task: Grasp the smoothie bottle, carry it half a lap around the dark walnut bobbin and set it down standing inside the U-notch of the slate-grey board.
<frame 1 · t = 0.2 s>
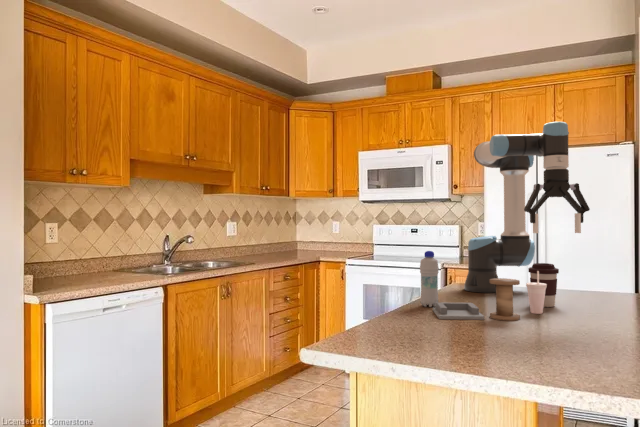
hand: (556, 233, 162), 27 cm above the counter, fingers open, 13 cm apart
smoothie: (536, 313, 164), on the counter
bottle: (429, 306, 177), on the counter
notch board: (457, 314, 161), on the counter
bobbin: (504, 317, 156), on the counter
coffee cup: (543, 306, 176), on the counter
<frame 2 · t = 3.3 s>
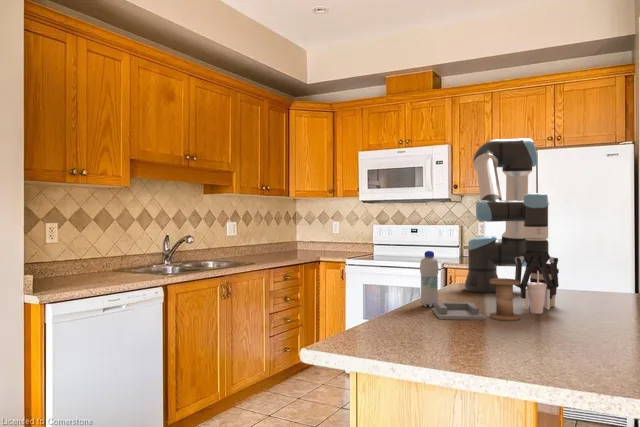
hand: (536, 308, 164), 1 cm above the counter, fingers closed on smoothie, 6 cm apart
smoothie: (536, 313, 164), on the counter, touching gripper
everything else where it was.
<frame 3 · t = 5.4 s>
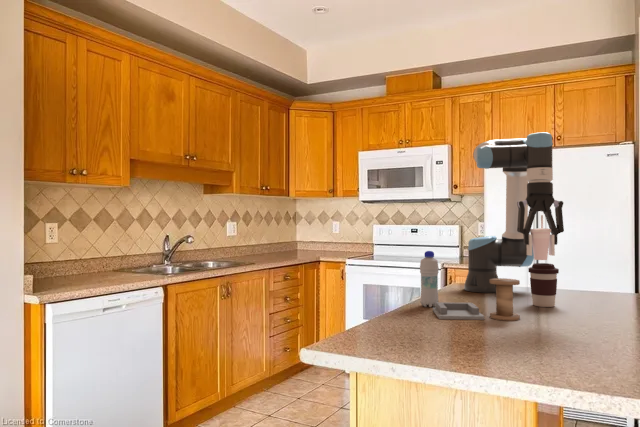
hand: (540, 255, 155), 20 cm above the counter, fingers closed on smoothie, 6 cm apart
smoothie: (540, 260, 154), point 18 cm above the counter, touching gripper
everything else where it was.
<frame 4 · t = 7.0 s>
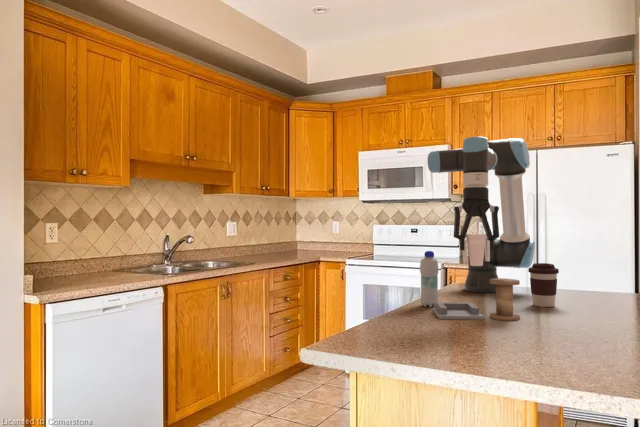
hand: (476, 260, 153), 19 cm above the counter, fingers closed on smoothie, 6 cm apart
smoothie: (476, 265, 153), point 17 cm above the counter, touching gripper
everything else where it was.
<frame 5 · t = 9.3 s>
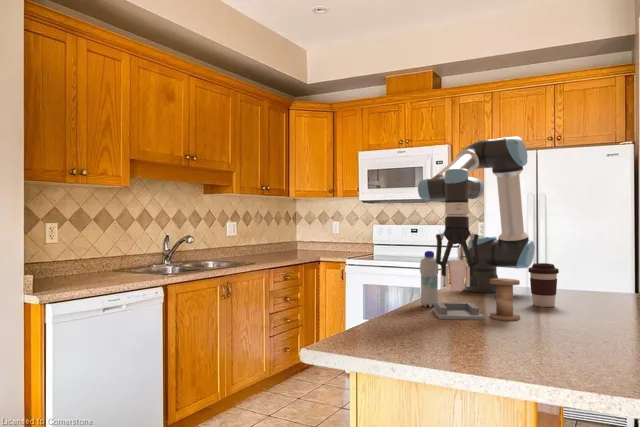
hand: (457, 285, 161), 10 cm above the counter, fingers closed on smoothie, 6 cm apart
smoothie: (457, 290, 161), point 8 cm above the counter, touching gripper
everything else where it was.
when the fingers open (5 cm above the counter, at t = 11.0 s): smoothie drops 2 cm, resting on notch board.
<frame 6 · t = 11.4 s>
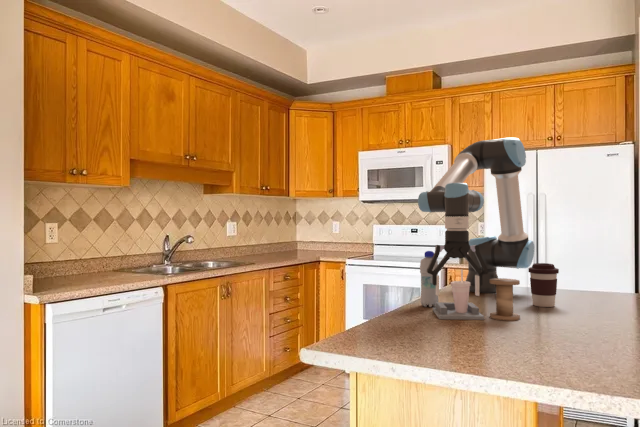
hand: (457, 295, 161), 6 cm above the counter, fingers open, 12 cm apart
smoothie: (461, 312, 161), point 1 cm above the counter, touching notch board
everything else where it was.
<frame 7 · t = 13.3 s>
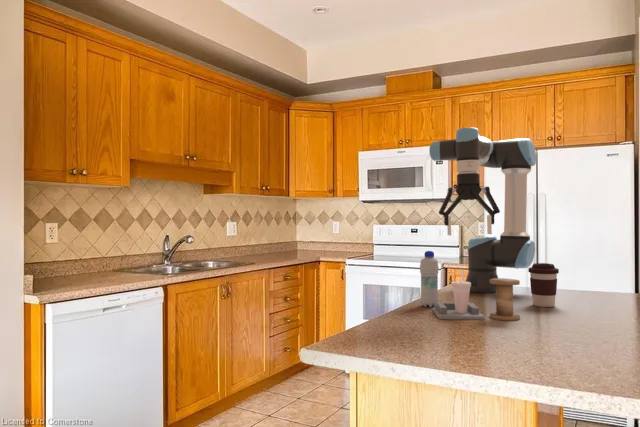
hand: (469, 234, 169), 26 cm above the counter, fingers open, 13 cm apart
nothing on the counter moved.
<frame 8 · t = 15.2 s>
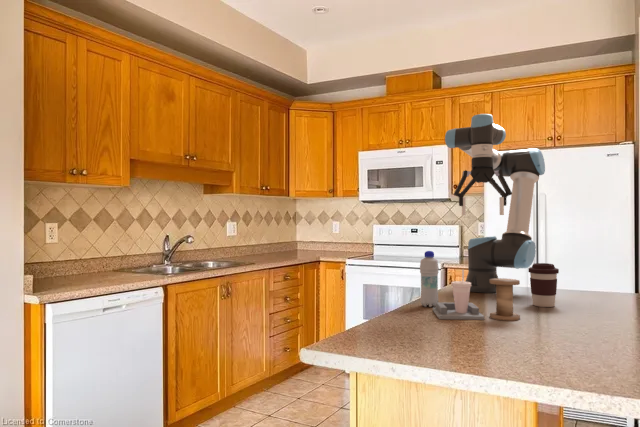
hand: (482, 215, 179), 33 cm above the counter, fingers open, 13 cm apart
nothing on the counter moved.
at the end: smoothie inside the target area on the notch board (1.3 cm from its centre), point 0.8 cm above the notch board's base; smoothie tilted 0°; the gripper is holding nothing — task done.
